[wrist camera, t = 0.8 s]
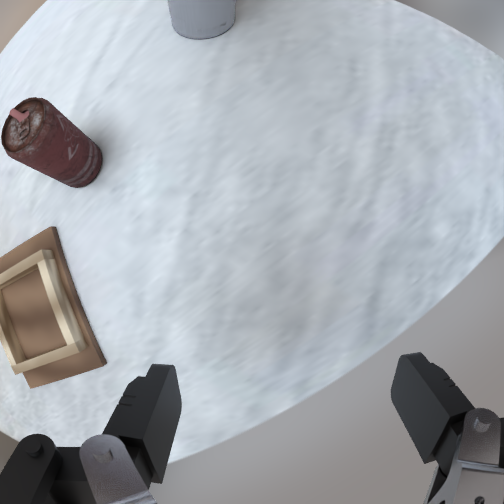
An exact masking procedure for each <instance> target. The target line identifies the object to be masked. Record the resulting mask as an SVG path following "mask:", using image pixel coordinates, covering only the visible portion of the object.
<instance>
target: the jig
mask: <svg viewBox="0 0 504 504" xmlns="http://www.w3.org/2000/svg"><path fill="white" fill-rule="evenodd" d="M0 340H1V343H2V345H3V348H4V350H5V353H6V355H7V357H8V360H9V362H10V364H11V367H12V369H13V371H14V373H15V375H16V374H19V373H22V372H23V374H24V376H25V379H26V381H27V383H28V385H29V387H30V389H31V388H35V387H38V386H42V385H45V384H48V383H52V382H55V381H58V380H62V379H65V378H68V377H71V376H75V375H78V374H81V373H84V372H87V371H90V370H93V369H96V368H99V367H102V366H104V365H105V364H106V363H107V362H106V360H105V358H104V356H103V354H102V352H101V350H100V348H99V346H98V343H97V341H96V339H95V337H94V334H93V332H92V330H91V328H90V325H89V323H88V320H87V318H86V316H85V313H84V311H83V308H82V306H81V303H80V300H79V298H78V295H77V292H76V290H75V287H74V284H73V281H72V278H71V276H70V273H69V270H68V267H67V264H66V260H65V257H64V254H63V251H62V248H61V244H60V241H59V237H58V234H57V230H56V227H52V226H51V227H49V228H47V229H45V230H44V231H42V232H40V233H39V234H37V235H35V236H34V237H32V238H30V239H29V240H27V241H26V242H24V243H22V244H21V245H19V246H18V247H16V248H14V249H13V250H11V251H10V252H8V253H7V254H5V255H4V256H2V257H1V258H0Z"/></svg>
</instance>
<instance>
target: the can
mask: <svg viewBox="0 0 504 504" xmlns="http://www.w3.org/2000/svg"><path fill="white" fill-rule="evenodd" d="M1 139H2V145H3V147H4V149H5V151H6V153H7V154H8V156H10V157H11V158H13V159H15V160H17V161H19V162H21V163H23V164H25V165H27V166H29V167H31V168H33V169H35V170H37V171H39V172H41V173H43V174H45V175H47V176H50V177H52V178H54V179H56V180H58V181H60V182H62V183H64V184H66V185H68V186H70V187H75V188H78V187H83V186H85V185H87V184H88V183H90V182H91V181H92V180H93V179H94V178H95V177H96V175H97V173H98V172H99V170H100V166H101V163H102V155H101V151H100V149H99V148H98V146H97V145H96V144H95V143H94V142H93V141H92V140H91V139H89V138H88V137H87V136H86V135H85V134H84V133H83V132H82V131H81V130H79V129H78V128H77V127H76V126H75V125H74V124H73V123H72V122H71V121H70V120H68V119H67V118H66V117H65V116H64V115H63V114H62V113H61V112H60V111H59V110H57V109H56V108H55V107H54V106H53V105H52V104H51V103H50V102H49V101H48V100H45V99H43V98H36V97H34V98H28V99H26V100H23V101H22V102H21V103H19V104H18V105H17V106H16V107H15V108H13V109H12V110H11V111H10V113H9V116H8V117H7V119H6V121H5V124H4V126H3V129H2V135H1Z"/></svg>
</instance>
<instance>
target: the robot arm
mask: <svg viewBox="0 0 504 504" xmlns="http://www.w3.org/2000/svg"><path fill="white" fill-rule="evenodd" d="M235 4H236V0H168V5H169V11H170V15H171V20H172V25H173V28H174V30H175V31H176V32H177V33H179V34H180V35H182V36H184V37H187V38H192V39H205V38H211V37H215V36H218V35H220V34H222V33H224V32H226V31H227V30H228V29H229V28H230V27H231V26H232V25H233V23H234V20H235ZM391 398H392V402H393V404H394V406H395V408H396V410H397V412H398V413H399V415H400V417H401V419H402V421H403V423H404V425H405V427H406V429H407V431H408V433H409V435H410V436H411V438H412V440H413V442H414V444H415V446H416V448H417V450H418V452H419V454H420V456H421V458H422V460H423V462H424V464H426V463H429V462H432V461H435V460H436V461H437V462H438V465H437V467H436V469H435V471H434V474H433V478H432V481H431V484H430V486H429V490H428V492H427V495H426V498H425V500H424V503H423V504H504V418H499V417H498V416H497V415H496V414H495V413H494V412H492V411H491V410H489V409H485V408H474V406H473V405H472V404H471V403H470V401H469V400H468V399H467V398H466V396H465V395H464V394H463V393H462V391H461V390H460V389H459V388H458V387H457V386H455V383H454V382H453V381H452V379H450V377H449V376H448V374H447V373H446V372H445V371H444V370H443V369H442V368H440V367H439V366H437V365H435V364H434V363H430V362H429V361H428V360H427V359H426V357H425V356H424V355H423V354H422V353H421V352H418V353H412V354H406V355H402V356H401V357H400V358H399V361H398V365H397V369H396V373H395V376H394V380H393V384H392V387H391ZM181 407H182V402H181V395H180V390H179V385H178V380H177V374H176V369H175V367H174V365H164V364H152V365H151V367H150V369H149V371H148V373H147V375H146V377H141V376H138V377H137V378H136V379H134V380H133V381H132V382H131V383H129V384H128V386H127V388H126V389H125V391H124V393H123V396H122V397H121V399H120V401H119V405H118V404H117V406H116V408H115V410H114V412H113V414H112V416H111V418H110V420H109V422H108V424H107V426H106V427H105V429H104V431H103V433H102V435H96V436H93V437H91V438H89V439H87V440H86V441H85V442H84V443H83V444H82V446H81V447H56V446H55V444H54V442H53V441H52V440H51V439H50V438H49V437H48V436H46V435H43V434H32V435H29V436H27V437H25V438H24V439H22V440H21V441H20V442H19V444H18V445H17V447H16V449H15V450H14V452H13V454H12V455H11V457H10V459H9V460H8V462H7V464H6V465H5V467H4V469H3V471H2V472H1V474H0V504H157V503H156V501H155V499H154V498H153V496H152V495H151V493H150V492H149V487H150V484H151V482H154V483H160V484H162V481H163V478H164V474H165V470H166V466H167V462H168V459H169V455H170V451H171V447H172V444H173V440H174V436H175V433H176V429H177V425H178V422H179V418H180V415H181Z"/></svg>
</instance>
